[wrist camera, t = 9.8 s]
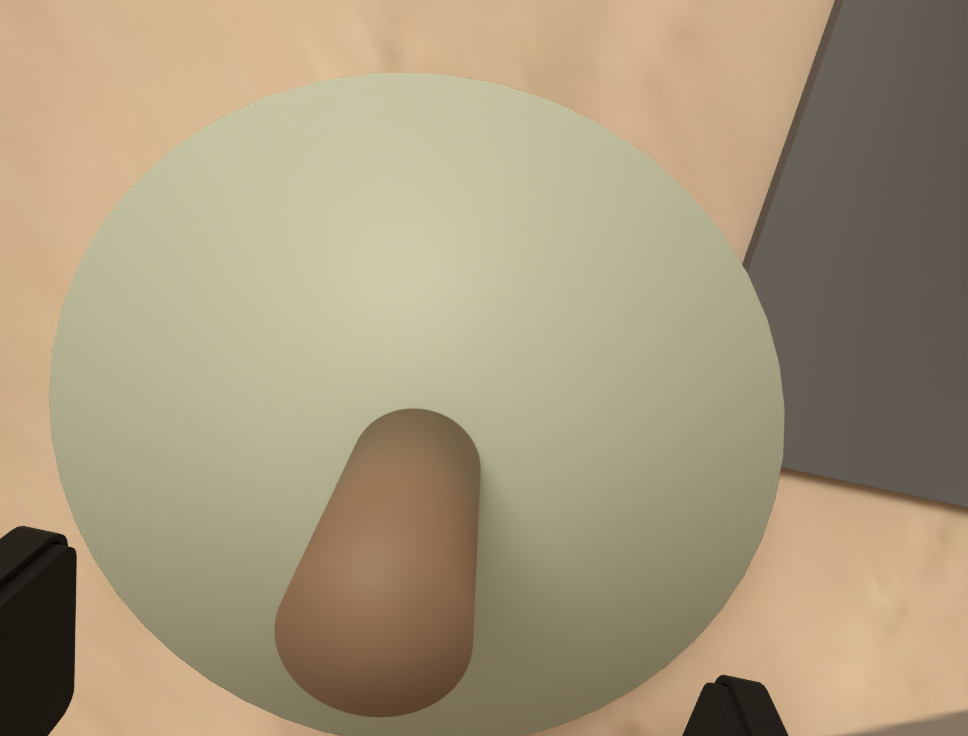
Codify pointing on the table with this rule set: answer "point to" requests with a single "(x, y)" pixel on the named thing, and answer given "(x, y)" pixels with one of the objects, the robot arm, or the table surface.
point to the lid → (416, 408)
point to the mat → (874, 253)
